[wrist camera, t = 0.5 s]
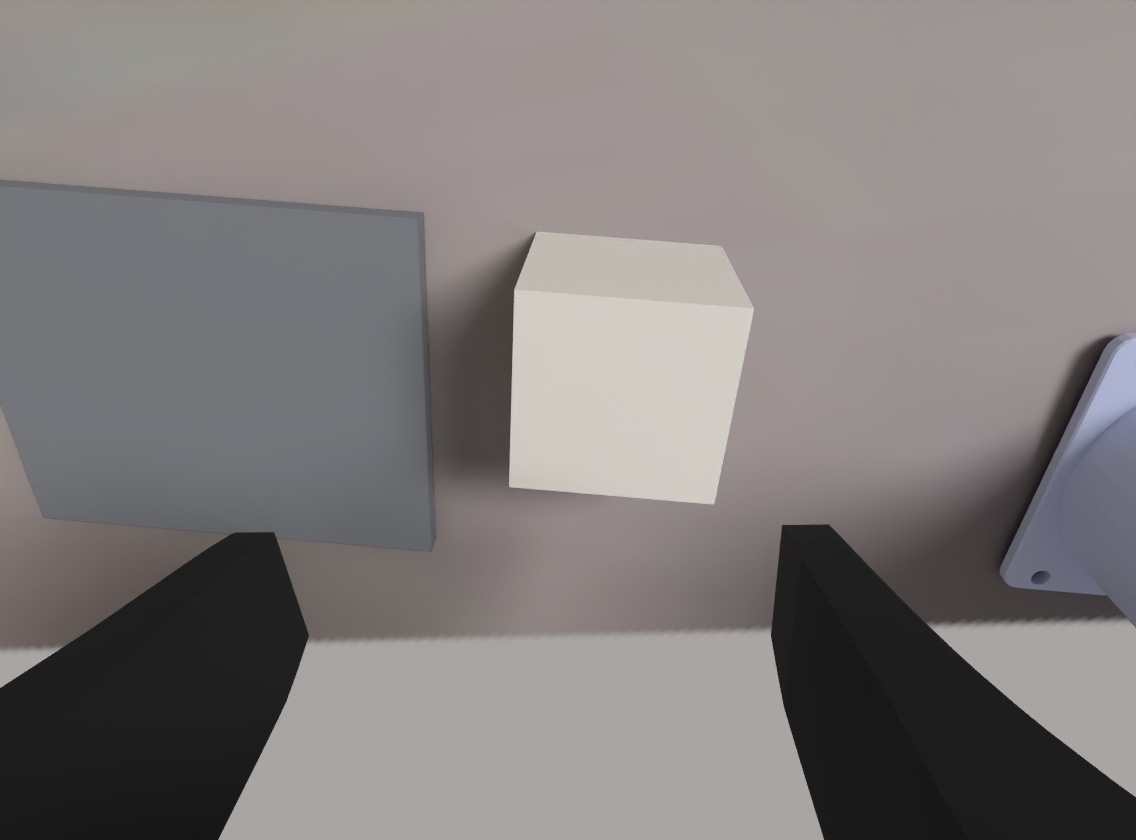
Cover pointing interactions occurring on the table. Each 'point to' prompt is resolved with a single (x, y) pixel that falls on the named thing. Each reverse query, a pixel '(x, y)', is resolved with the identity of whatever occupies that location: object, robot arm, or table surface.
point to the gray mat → (218, 363)
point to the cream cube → (625, 367)
